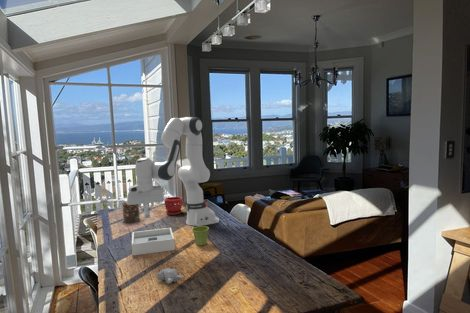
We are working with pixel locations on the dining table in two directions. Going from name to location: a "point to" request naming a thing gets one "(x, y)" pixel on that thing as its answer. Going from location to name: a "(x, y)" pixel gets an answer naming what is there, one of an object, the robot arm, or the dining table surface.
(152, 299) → the dining table surface
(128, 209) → the jar
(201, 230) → the plant pot
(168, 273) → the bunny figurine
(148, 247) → the box
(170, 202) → the plant pot
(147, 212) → the peg
